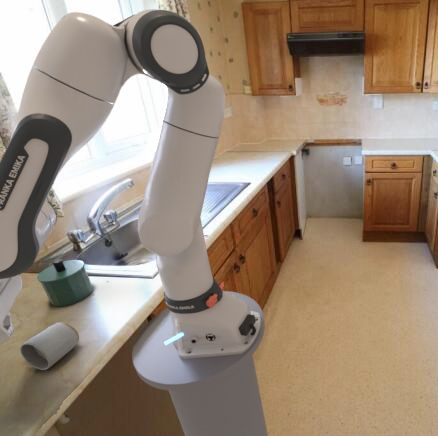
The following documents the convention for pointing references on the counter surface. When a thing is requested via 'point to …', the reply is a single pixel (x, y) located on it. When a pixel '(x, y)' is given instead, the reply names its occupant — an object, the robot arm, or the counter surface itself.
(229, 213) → the counter surface
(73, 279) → the pot
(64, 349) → the ceramic mug
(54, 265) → the pot lid
